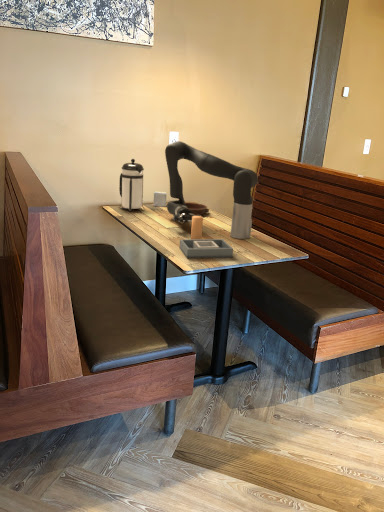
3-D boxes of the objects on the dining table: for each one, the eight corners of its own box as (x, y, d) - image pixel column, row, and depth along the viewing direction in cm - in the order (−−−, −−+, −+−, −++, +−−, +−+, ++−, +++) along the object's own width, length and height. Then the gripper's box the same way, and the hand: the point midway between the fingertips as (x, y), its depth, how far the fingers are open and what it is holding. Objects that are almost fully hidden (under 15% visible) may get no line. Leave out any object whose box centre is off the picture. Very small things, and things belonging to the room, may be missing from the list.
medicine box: (165, 205, 269) (166, 192, 267) (165, 207, 265) (166, 193, 262) (153, 204, 269) (154, 191, 266) (153, 206, 265) (153, 192, 262)
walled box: (221, 247, 191) (222, 239, 190) (232, 257, 178) (233, 248, 177) (179, 248, 186) (179, 239, 185) (186, 258, 173) (187, 249, 172)
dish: (169, 211, 256) (169, 203, 254) (201, 209, 265) (202, 202, 264) (180, 217, 241) (181, 209, 239) (214, 216, 250) (215, 208, 249)
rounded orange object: (199, 240, 200) (201, 215, 196) (202, 243, 195) (204, 218, 191) (189, 240, 198) (191, 215, 195) (192, 243, 194) (193, 218, 190)
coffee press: (146, 207, 260) (148, 158, 250) (141, 213, 245) (142, 160, 235) (119, 205, 261) (120, 156, 251) (112, 210, 246) (112, 158, 236)
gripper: (170, 206, 216) (177, 213, 202) (196, 206, 220) (205, 214, 205) (169, 220, 219) (176, 228, 204) (195, 220, 222) (204, 228, 208)
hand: (190, 221), depth 205 cm, fingers open, 8 cm apart
